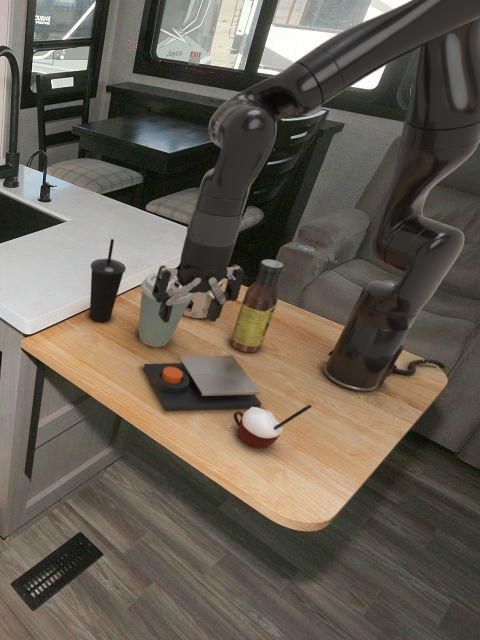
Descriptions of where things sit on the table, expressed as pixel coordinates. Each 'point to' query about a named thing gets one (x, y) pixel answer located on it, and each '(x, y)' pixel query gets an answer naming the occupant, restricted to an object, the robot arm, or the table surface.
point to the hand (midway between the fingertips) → (187, 319)
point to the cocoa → (261, 426)
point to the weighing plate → (218, 375)
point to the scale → (191, 393)
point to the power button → (172, 375)
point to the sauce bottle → (257, 308)
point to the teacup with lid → (199, 304)
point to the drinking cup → (105, 286)
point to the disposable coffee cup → (150, 321)
